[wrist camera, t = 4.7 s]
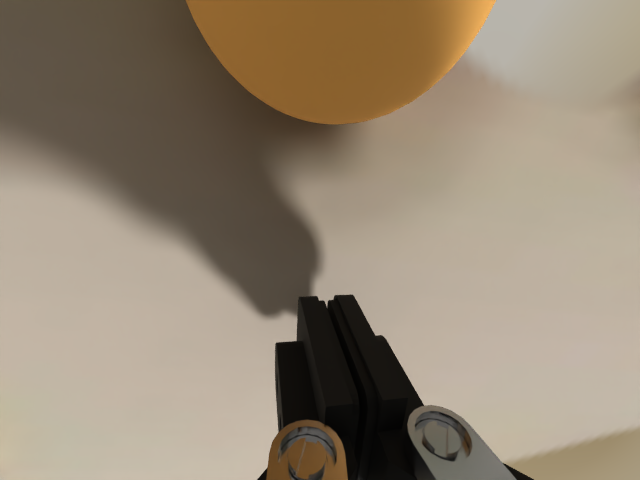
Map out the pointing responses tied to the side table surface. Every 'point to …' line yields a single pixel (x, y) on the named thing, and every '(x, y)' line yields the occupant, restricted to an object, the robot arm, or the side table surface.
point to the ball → (338, 50)
